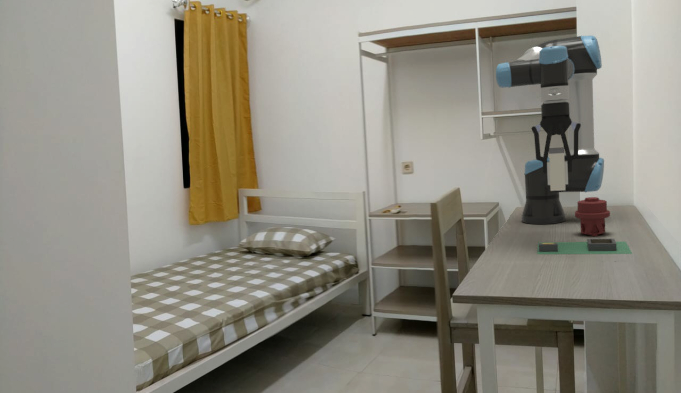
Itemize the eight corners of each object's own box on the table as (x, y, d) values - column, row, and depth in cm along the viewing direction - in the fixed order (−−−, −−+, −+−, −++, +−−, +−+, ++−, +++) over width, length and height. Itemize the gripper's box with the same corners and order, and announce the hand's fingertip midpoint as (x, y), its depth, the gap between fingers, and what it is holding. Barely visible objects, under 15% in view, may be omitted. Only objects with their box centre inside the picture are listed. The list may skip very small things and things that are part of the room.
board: (538, 245, 186) (537, 235, 185) (625, 244, 178) (625, 233, 178) (537, 257, 171) (536, 246, 170) (632, 257, 163) (632, 245, 163)
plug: (550, 189, 180) (549, 148, 179) (565, 188, 179) (564, 147, 178) (550, 190, 177) (548, 148, 175) (565, 190, 175) (564, 148, 174)
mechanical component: (606, 233, 196) (613, 239, 186) (573, 234, 198) (578, 241, 188) (605, 195, 194) (612, 199, 185) (572, 196, 196) (577, 200, 187)
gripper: (522, 104, 175) (526, 186, 177) (587, 99, 169) (590, 184, 171) (524, 104, 181) (527, 183, 184) (587, 99, 176) (589, 181, 178)
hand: (557, 184), depth 178 cm, fingers closed on plug, 4 cm apart
